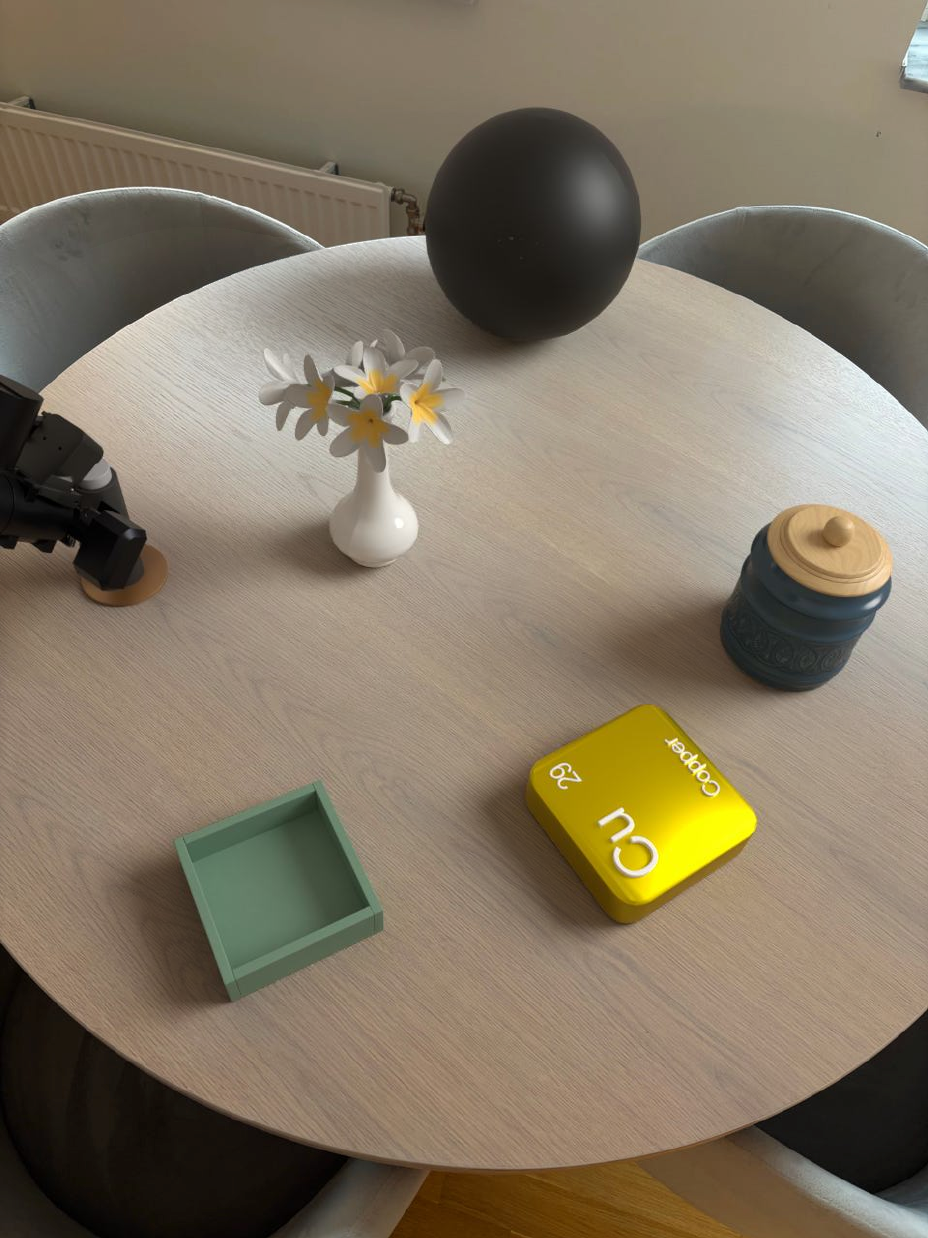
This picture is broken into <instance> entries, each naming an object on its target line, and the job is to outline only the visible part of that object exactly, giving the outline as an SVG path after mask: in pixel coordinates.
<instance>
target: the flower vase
mask: <svg viewBox="0 0 928 1238" xmlns="http://www.w3.org/2000/svg"><path fill="white" fill-rule="evenodd" d="M382 335H383V339H384V342H385V345H386V348H387V349H386V348H385V347H384V346H381V345H378V344H377V343H378V339H375V340H373V342H371V343H370V344H369V345H368V346H367V347H366V348H365V349H364V343H363V341H362V340H358V341H357V342H355V343H354V344H353V345H352V346H351V348H350V350H349V351H348V353H347V355H346V358H345V364H339V365H336V366H334V367H331V368H328V369H326V370H324V371H322V372H321V373H320V371H319V368H318V367H317V364H316V362H315V360H314V358H313V356H312V355H311V354H310V353H307V354H305V356H304V358H303V366H302V367H303V374H304V378H305V381H306V382H307V383H301V381H300V380H299V379H298V377H297V375H296V372H295V370H294V368H293V365H292V362H291V358H290V355H289V354H288V352H284V353H283V355H282V358H281V360H279V358H278V357H277V356H276V355H275V353H274V352H273V351H272V350H271V349H270V348H269V347H265V348H264V349H263V353H262V354H263V359H264V363H265V366H266V368H267V370H268V371H269V373H270V375H271V376H272V377H274V378H275V379H277V380H270V381H268V382H266V383H265V384H263V385H262V386H261V387H260V389H259V390H258V391H259V392H258V396H257V397H258V401H259V402H260V404H262V405H263V406H268V407H269V406H273V405H276V404H279V403H280V404H279V405H278V407H277V409H276V413H275V426H276V430H277V432H281V431H282V430H283V428H284V426H285V425H286V422H287V419H288V417H289V415H290V413H291V411H292V410H294V409H296V407H297V408H300V409H306V410H305V411H303V412H302V413H301V414H300V416H299V417H298V419H297V422H296V423H295V429H294V439H296V441H298V442H299V441H302V440H303V439H304V438H305V437H307V435H308V434H309V433H310V431H311V430H312V429H313V427H314V426H315V425H316V429H317V433H318V434H319V436H321V437H326V436H327V435H328V433H329V426H330V420H331V421H332V422H333V423H334V424H336V425H338V426H341V427H344V428H345V429H343V431H342V432H340V433H339V434H338V435H336V437H335V438H334V439H333V440H332V441H331V443H330V445H329V449H328V451H329V454H330V455H331V456H332V457H334V458H345V457H347V456H351V455H352V454H353V453H355V452H356V451H357V465H356V467H357V468H356V481H355V485H354V487H353V490H351V491H349V492H348V493H347V494H346V495H344V496H343V497H341V498H340V500H339V501H337V504H336V505H334V508H333V509H332V513H331V516H330V519H329V534H330V537H331V539H332V542H333V543H334V545H335V546H336V547H337V549H339V551H340V552H341V553H343V554H344V555H345V556H347V557H349V558H350V559H351V560H352V561H353V562H355V563H356V564H358V565H359V566H363V567H365V568H372V569H375V568H383V567H386V566H389V565H391V564H394V563H395V562H396V561H398V560H399V559H400V557H402V556H404V555H405V554H406V553H407V552H408V551H409V550H411V549H412V547H413V546H414V544H415V542H416V541H417V538H418V535H419V531H420V525H419V517H418V514H417V512H416V510H415V508H414V506H413V504H412V503H411V501H409V500H408V499H407V498H406V497H405V496H404V495H403V494H402V493H400V492H398V491H396V490H395V489H394V487H393V484H392V480H391V474H390V457H389V445H392V446H398V445H404V444H406V443H407V442H409V443H410V444H417V443H418V442H419V441H421V439H423V437H424V436H425V432H426V429H427V428H428V430H430V432H431V433H432V434H433V436H434V437H435V438H436V439H437V440H438V441H439V442H440V443H441V444H443V445H446V446H449V445H450V444H452V443H453V439H454V432H453V428H452V425H451V423H450V421H449V420H448V418H447V417H446V416H445V415H444V414H443V413H441V412H444V413H445V412H450V411H454V410H456V409H457V408H459V407H461V406H462V405H463V404H464V403H465V401H466V400H467V391H466V390H465V389H464V388H462V387H459V386H449V387H444V388H441V389H438V388H440V386H441V384H442V382H446V381H447V377H446V376H445V375H444V374H443V366H442V363H441V360H439V359H436V352H435V351H434V350H433V349H432V347H429V346H416V347H414V348H411V349H410V350H409V351H408V352H407V354H406V351H405V346H404V344H403V342H402V340H401V339H400V337H399V336H398V335H396V334H395V333H394V332H393V331H392V330H390V329H388V328H384V329H383V330H382ZM387 365H388V369H387ZM426 366H427V368H425V367H426ZM416 380H418V381H419V380H421V381H422V382H421V383H420V384H419V385H418V384H415V383H413V382H403V381H416ZM346 388H354V390H353V391H350V390H348V389H346ZM334 392H338V393H341V394H343V395H346V396H347V397H350V398H351V399H350V400H343V399H335V398H333V395H334ZM395 401H400V402H403V403H404V405H405V406H406V407H408V408H409V409H410V418H409V422H408V425H407V430H405V429H404V428H402V427H400V426H399V425H396V424H394V423H392V422H393V420H394V418H395V417H396V415H397V412H398V409H397V404H396V402H395Z"/></svg>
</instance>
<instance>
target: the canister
mask: <svg viewBox="0 0 928 1238" xmlns="http://www.w3.org/2000/svg"><path fill="white" fill-rule="evenodd" d="M893 569H894V558H893V553H892V550H891V548H890V545H889V544H888V542H887V541H886V539H885V537H883V535H882V534H881V533H880V531H878V530H877V529H876V528H875V527H874V525H872V524H870V523H869V522H867V520H865V519H864V518H862V517H860V516H859V515H856V514H854V513H852V512H850V511H847V510H845V509H842V508H839V507H836V506H832V505H827V504H822V503H821V504H820V503H807V504H806V503H805V504H798V505H795V506H791V507H788V508H786V509H785V510H783V511H781V512H779V513H778V514H777V515H776V516H775V517H774V518H773V519H772V520H771V521H770V522H769V523H766V524H765V525H764V526H763V527H762V528H760V530H758V532H756V534H755V536H754V538H753V539H752V542H751V545H750V551H749V554H748V555H747V556H746V558H745V560H744V561H743V563H742V566H741V569H740V573H739V574H740V575H739V577H738V579H737V581H736V584H735V586H734V588H733V590H732V593H731V594H730V595H729V597H728V598H727V600H726V602H725V604H724V606H723V609H722V612H721V616H720V626H719V636H720V641H721V644H722V646H723V649H724V652H726V655H727V656H728V657H729V659H730V660H731V661H732V663H733V664H734V665H736V667H737V668H738V669H739V670H741V672H743V673H744V674H745V675H747V676H748V677H750V678H752V679H753V680H755V681H756V682H759V683H761V684H763V685H765V686H768V687H771V688H773V689H777V690H783V691H790V692H803V691H804V692H805V691H810V690H814V689H817V688H820V687H822V686H824V685H826V684H827V683H828V682H830V681H832V679H833V678H834V677H836V676H837V675H838V674H839V673H840V672H841V671H842V670H843V669H844V668H845V666H846V664H847V663H848V661H849V660H850V658H851V656H852V652H853V650H854V648H855V647H856V645H857V644H858V642H859V641H860V639H861V637H862V636H863V634H864V633H865V632H866V631H867V630H868V629H869V628H870V627H871V626H872V624H873V622H874V620H875V619H876V615H877V612H878V611H879V610H880V609H881V608H882V607H883V606H884V605H885V604H886V602H888V599H889V597H890V594H891V591H892V586H893V581H892V572H893Z"/></svg>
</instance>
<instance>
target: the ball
mask: <svg viewBox="0 0 928 1238" xmlns="http://www.w3.org/2000/svg"><path fill="white" fill-rule="evenodd" d="M641 212H642V211H641V200H640V195H639V191H638V188H637V186H636V183H635V179H634V176H633V174H632V171H631V168H630V166H629V164H628V163H627V162H626V160H625V158H624V156H623V155H622V153H621V151H620V150H619V149H618V148H617V146H616V145H615V144H614V143H613V141H612V140H610V139H609V138H608V136H607V135H605V134H604V133H603V132H602V131H601V129H599V128H598V127H597V126H596V125H593V124H592V123H590V122H588V121H586V120H585V119H583V118H581V117H579V116H577V115H576V114H573V113H570V112H567V111H565V110H561V109H557V108H552V107H551V108H550V107H544V106H543V107H540V106H532V107H523V108H518V109H513V110H508V111H505V112H502V113H498V114H496V115H494V116H492V117H490V118H488V119H487V120H485V121H483V122H482V123H480V124H478V125H477V126H475V127H473V128H472V129H471V130H469V131H468V132H466V134H465V135H464V136H463V137H462V138H461V139H460V140H459V141H457V143H456V144H455V145H454V146H453V147H452V148H451V150H450V151H449V153H448V154H447V155H446V157H445V159H444V160H443V162H442V164H441V165H440V167H439V168H438V170H437V172H436V174H435V177H434V180H433V183H432V186H431V188H430V191H429V195H428V198H427V201H426V208H425V217H424V232H425V246H426V253H427V257H428V261H429V264H430V267H431V271H432V273H433V276H434V278H435V280H436V282H437V284H438V286H439V287H440V289H441V291H442V293H443V295H444V297H445V298H446V299H447V300H448V302H450V304H451V305H452V306H453V307H454V308H455V309H456V310H457V311H458V313H460V314H461V315H462V317H464V318H465V319H466V320H467V321H469V322H470V323H471V324H473V325H475V326H476V327H478V328H480V329H481V330H483V331H485V332H488V333H489V334H492V335H494V336H497V337H499V338H502V339H507V340H510V341H515V342H516V341H517V342H541V341H547V340H552V339H556V338H559V337H564V336H567V335H570V334H571V333H574V332H576V331H579V329H581V328H583V327H584V326H586V325H587V324H589V323H590V322H592V321H594V320H595V319H596V318H598V317H599V316H600V315H601V314H602V313H603V312H604V311H605V310H606V309H607V308H608V307H609V305H611V303H612V302H613V301H614V300H615V299H616V297H617V296H619V294H620V292H621V291H622V289H623V287H624V285H625V284H626V282H627V281H628V279H629V276H630V275H631V271H632V269H633V266H634V264H635V260H636V258H637V255H638V252H639V249H640V241H641V240H640V239H641V231H642V213H641Z"/></svg>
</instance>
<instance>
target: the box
mask: <svg viewBox="0 0 928 1238" xmlns="http://www.w3.org/2000/svg"><path fill="white" fill-rule="evenodd" d="M172 843H173V846H174V850H175V851H176V854H177V857H178V859H179V862H180V866H181V869H182V870H183V873H184V876H185V879H186V881H187V884H188V887H189V890H190V893H191V896H192V899H193V901H194V904H195V907H196V909H197V913H198V915H199V918H200V921H201V923H202V926H203V929H204V932H205V935H206V937H207V938H206V939H207V940H208V943H209V946H210V949H211V951H212V954H213V958H214V960H215V962H216V965H217V968H218V971H219V974H220V977H221V979H222V982H223V984H224V987H225V990H226V993H227V994H228V995H227V996H228V997H229V1000H230V1002H232V1003H234V1002H235V1001H237V1000H240V999H242V998H244V997H246V996H248V995H250V994H253V993H254V992H257V991H259V990H261V989H263V988H265V987H267V986H269V985H271V984H273V983H276V982H277V981H280V980H282V979H283V978H286V977H288V976H290V975H292V974H294V973H296V972H298V971H301V970H302V969H305V968H307V967H309V966H312V965H313V964H315V963H317V962H319V961H321V960H324V959H326V958H328V957H329V956H331V955H334V954H336V953H338V952H340V951H342V950H344V949H346V948H348V947H350V946H352V945H353V946H354V944H357V943H359V942H361V941H363V940H365V939H367V938H369V937H372V936H374V935H376V934H378V933H380V932H383V931H384V909H383V906H382V904H381V902H380V900H379V898H378V896H377V894H376V891H375V889H374V887H373V885H372V883H371V882H370V879H369V876H368V875H367V873H366V871H365V869H364V867H363V865H362V862H361V860H360V858H359V856H358V854H357V852H356V850H355V848H354V846H353V844H352V842H351V839H350V837H349V835H348V833H347V831H346V829H345V826H344V825H343V822H342V819H341V818H340V817H339V814H338V813H337V810H336V808H335V806H334V804H333V802H332V799H331V797H330V795H329V794H328V791H327V789H326V787H325V785H324V783H323V781H322V779H318V780H316V781H313V782H312V783H308V784H306V785H304V786H302V787H301V786H300V787H298V788H297V789H294V790H291V791H289V792H287V793H284V794H282V795H280V796H276V797H275V798H272V799H269V800H267V801H264V802H262V803H260V804H258V805H255V806H252V807H250V808H248V809H245V810H243V811H240V812H238V813H235V814H232V815H230V816H228V817H226V818H223V819H221V820H218V821H215V822H214V823H211V824H209V825H206V826H203V827H201V828H199V829H197V830H194V831H192V832H188V833H186V834H184V835H182V836H180V837H177V838H174V839H173V840H172Z"/></svg>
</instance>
